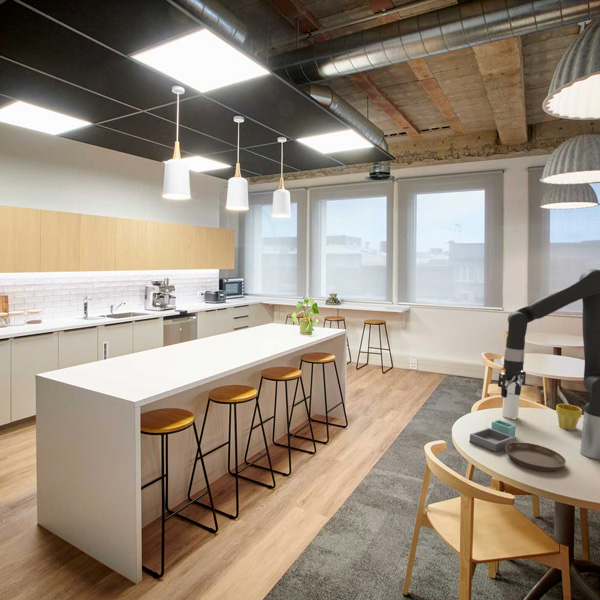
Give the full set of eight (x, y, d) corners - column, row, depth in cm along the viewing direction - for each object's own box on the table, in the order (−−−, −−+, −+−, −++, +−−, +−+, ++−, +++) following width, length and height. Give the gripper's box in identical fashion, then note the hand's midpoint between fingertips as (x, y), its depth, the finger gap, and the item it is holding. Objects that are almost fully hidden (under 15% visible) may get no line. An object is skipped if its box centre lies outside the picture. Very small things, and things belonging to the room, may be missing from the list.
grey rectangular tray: (487, 435, 190) (488, 427, 189) (513, 445, 180) (514, 437, 180) (469, 441, 182) (470, 434, 182) (495, 452, 172) (495, 444, 172)
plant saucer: (572, 463, 166) (572, 455, 165) (555, 480, 152) (555, 471, 151) (516, 445, 181) (516, 437, 180) (496, 459, 167) (496, 451, 166)
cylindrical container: (506, 419, 211) (510, 369, 208) (499, 413, 218) (503, 365, 216) (520, 419, 211) (524, 369, 209) (512, 414, 218) (516, 366, 216)
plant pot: (583, 433, 196) (585, 412, 195) (558, 429, 199) (560, 409, 198) (575, 424, 206) (577, 405, 205) (551, 422, 209) (553, 402, 208)
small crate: (497, 430, 196) (498, 419, 196) (514, 436, 190) (515, 425, 189) (491, 432, 193) (491, 421, 193) (508, 438, 186) (509, 427, 186)
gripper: (517, 355, 187) (513, 391, 189) (494, 357, 181) (491, 395, 182) (533, 359, 181) (529, 396, 182) (510, 362, 174) (507, 400, 176)
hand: (510, 396), depth 182 cm, fingers open, 8 cm apart
